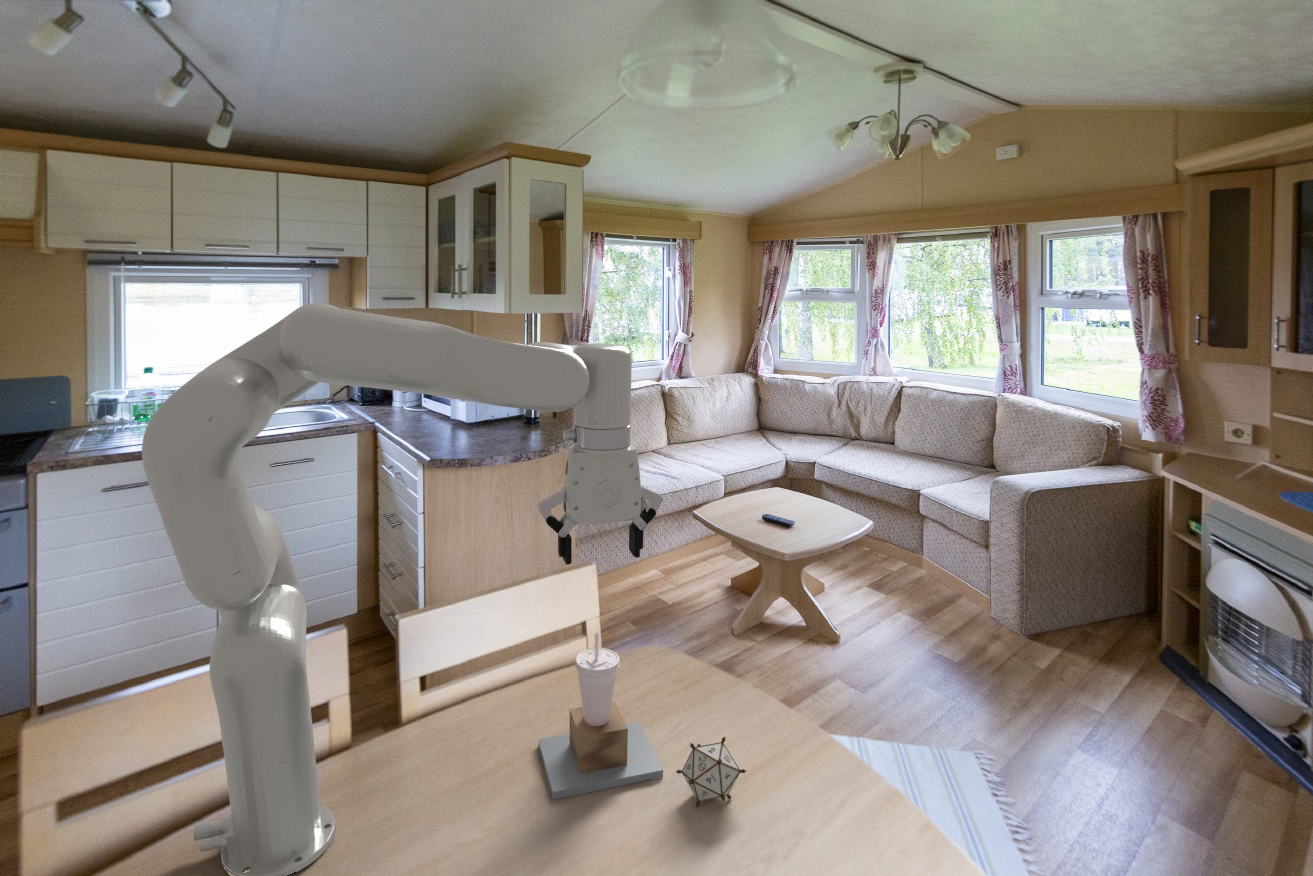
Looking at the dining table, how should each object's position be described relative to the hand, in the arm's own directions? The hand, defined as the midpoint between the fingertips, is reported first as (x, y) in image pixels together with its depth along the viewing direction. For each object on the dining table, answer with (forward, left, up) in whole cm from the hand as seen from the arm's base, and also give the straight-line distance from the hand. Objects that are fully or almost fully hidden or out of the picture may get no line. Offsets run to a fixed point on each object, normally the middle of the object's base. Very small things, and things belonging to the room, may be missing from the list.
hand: (600, 557), depth 100 cm
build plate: (0, 0, -32) cm, 32 cm away
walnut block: (0, 0, -31) cm, 31 cm away
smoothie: (0, 0, -25) cm, 25 cm away
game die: (+13, -11, -32) cm, 37 cm away
